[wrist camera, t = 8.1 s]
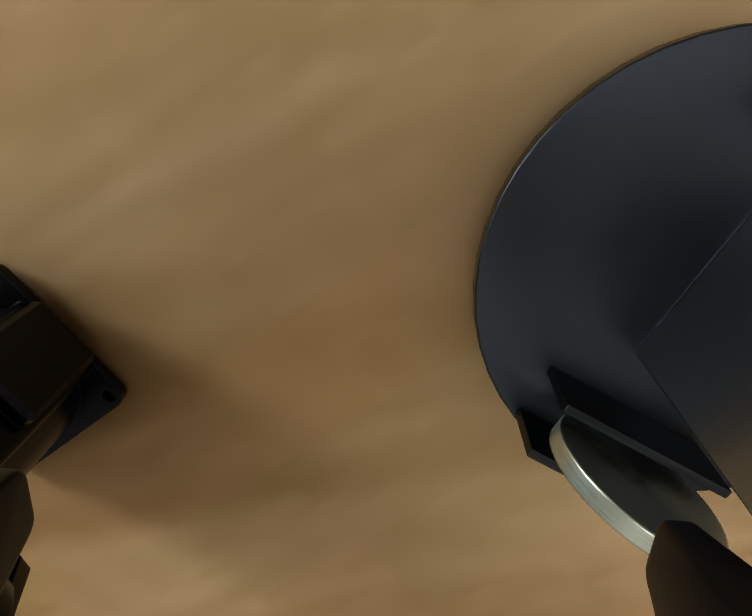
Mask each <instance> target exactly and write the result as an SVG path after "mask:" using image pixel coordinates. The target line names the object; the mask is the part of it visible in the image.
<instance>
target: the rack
mask: <svg viewBox="0 0 752 616" xmlns="http://www.w3.org/2000/svg"><path fill="white" fill-rule="evenodd" d="M473 308H474V319H475V325H476V331H477V337H478V343H479V347H480V350H481V353H482V356H483V359H484V362H485V365H486V369H487V372H488V374H489V376H490V378H491V380H492V382H493V384H494V386H495V388H496V390H497V392H498V394H499V396H500V397H501V399H502V400H503V402H504V403H505V405H506V406H507V407H508V409H509V410H510V412H511V413H512V415H513V416H514V417H515V418H516V420H517V422H518V425H519V429H520V432H521V436H522V439H523V443H524V446H525V450H526V453H527V456H528V457H530V458H532V459H534V460H536V461H538V462H540V463H542V464H543V465H545V466H547V467H549V468H551V469H553V470H555V471H557V472H559V473H561V474H563V475H564V476H565V477H566V479H567V480H568V481H569V483H570V484H571V485H572V487H573V488H574V489H575V490H576V491H577V493H578V494H579V495H580V496H581V497H582V499H583V500H584V501H585V502H586V503H587V504H588V505H589V506H590V507H591V508H592V509H593V510H594V511H595V512H596V513H597V514H598V515H599V516H600V517H601V518H602V519H603V520H604V521H605V522H606V523H607V524H609V525H610V526H611V527H612V528H613V529H614V530H615V531H617V532H618V533H619V534H620V535H622V536H623V537H624V538H625V539H627V540H628V541H629V542H631V543H632V544H634V545H635V546H636V547H638V548H639V549H641V550H642V551H644V552H645V553H647V554H648V555H649V554H650V550H651V547H652V544H653V540H654V537H655V534H656V530H657V527H658V525H659V524H660V522H662V521H664V520H679V521H689V522H693V523H695V524H696V525H698V526H699V527H700V528H702V529H703V530H704V531H706V532H707V533H708V534H709V535H711V536H712V537H713V538H715V539H716V540H717V541H719V542H720V543H721V544H723V545H724V546H725V547H726V548H728V549H729V546H728V540H727V537H726V534H725V532H724V530H723V528H722V526H721V524H720V523H719V521H718V519H717V518H716V516H715V515H714V513H713V512H712V510H711V509H710V508H709V506H708V505H707V504H706V502H705V501H704V500H703V499H702V498H701V496H700V495H699V494H698V493H697V492H696V491H707V490H710V491H712V492H714V493H716V494H718V495H720V496H722V497H724V498H727V497H728V496H729V495H730V494H731V493H732V492H731V490H730V489H729V488H731V487H732V489H733V490H734V491H735V493H736V494H737V496H738V497H739V498H740V500H741V501H742V502H743V504H744V505H745V507H746V508H747V509H748V511H749V512H750V514H751V515H752V23H746V24H734V25H729V26H725V27H720V28H716V29H711V30H707V31H702V32H698V33H694V34H691V35H688V36H685V37H683V38H680V39H677V40H674V41H671V42H669V43H666V44H663V45H660V46H657V47H655V48H653V49H651V50H649V51H647V52H645V53H643V54H641V55H639V56H637V57H635V58H633V59H631V60H629V61H627V62H625V63H623V64H622V65H620V66H619V67H617V68H615V69H614V70H612V71H611V72H609V73H608V74H606V75H605V76H603V77H602V78H600V79H599V80H597V81H596V82H594V83H593V84H591V85H590V86H588V87H587V88H586V89H585V90H584V91H582V92H581V93H580V94H579V95H578V96H576V97H575V98H574V99H573V100H572V101H571V102H569V103H568V104H567V105H566V106H565V107H563V108H562V109H561V110H560V111H559V112H558V113H557V114H556V115H555V116H554V117H553V118H552V119H551V121H550V122H549V123H548V124H547V125H546V126H545V127H544V128H543V129H542V130H541V131H540V132H539V133H538V134H537V135H536V136H535V138H534V139H533V140H532V142H531V143H530V144H529V146H528V147H527V148H526V150H525V151H524V153H523V154H522V155H521V157H520V158H519V159H518V161H517V162H516V163H515V165H514V166H513V168H512V170H511V171H510V173H509V175H508V177H507V179H506V180H505V182H504V184H503V186H502V187H501V189H500V191H499V193H498V195H497V196H496V199H495V201H494V204H493V206H492V209H491V211H490V214H489V216H488V219H487V221H486V224H485V226H484V230H483V234H482V237H481V241H480V245H479V249H478V253H477V257H476V265H475V273H474V282H473Z"/></svg>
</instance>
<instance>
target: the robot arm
mask: <svg viewBox="0 0 752 616" xmlns="http://www.w3.org/2000/svg"><path fill="white" fill-rule="evenodd" d="M107 390H111V391H113V392H114V393H115V395H116V396H112V395H110V394H109V393H108V392H107ZM126 393H127V391H126V387H125V386H124V384H123V383H122V382H121V381H120V380H119V379H118V378H117V377H116V376H115V375H114V374H113V373H112V372H111V371H110V370H109V369H108V368H107V367H106V366H105V365H104V364H103V363H102V362H101V361H100V360H99V359H98V358H97V357H96V356H95V355H94V354H93V353H92V352H91V351H90V350H89V349H88V348H87V347H86V346H85V345H84V344H83V343H82V342H81V341H80V340H79V339H78V338H77V337H76V336H75V335H74V334H73V333H72V332H71V331H70V330H69V329H68V328H67V327H66V326H65V325H64V324H63V323H62V322H61V321H60V320H59V319H58V318H57V317H56V316H55V315H54V314H53V313H52V312H51V311H50V310H49V309H48V308H47V307H46V306H45V305H44V304H43V303H42V302H41V301H40V300H39V299H38V298H37V297H36V296H35V295H34V294H33V293H32V292H31V291H30V290H29V289H28V288H27V287H26V286H25V285H24V284H23V283H22V282H21V281H20V280H19V279H18V278H17V277H16V276H15V275H14V274H13V273H12V272H11V271H10V270H9V269H8V268H7V267H5V266H4V265H1V264H0V616H14V615H15V612H16V609H17V606H18V603H19V600H20V598H21V595H22V592H23V589H24V586H25V583H26V581H27V578H28V575H29V572H30V567H29V566H28V565H27V563H26V562H25V561H24V559H23V558H22V557H21V556H20V553H21V551H22V549H23V547H24V545H25V543H26V541H27V539H28V537H29V535H30V533H31V530H32V527H33V522H34V513H33V508H32V503H31V498H30V493H29V488H28V482H27V478H26V475H27V473H28V472H29V471H30V470H31V469H32V468H33V467H34V465H36V464H37V463H38V462H40V461H41V460H43V459H44V458H45V457H47V456H48V455H50V454H51V453H52V452H54V451H55V450H57V449H58V448H59V447H61V446H62V445H64V444H65V443H66V442H68V441H69V440H71V439H72V438H73V437H75V436H76V435H78V434H79V433H80V432H82V431H83V430H85V429H86V428H87V427H89V426H90V425H92V424H93V423H94V422H96V421H97V420H99V419H100V418H101V417H103V416H104V415H106V414H107V413H108V412H110V411H111V410H113V409H114V408H115V407H117V406H118V405H119V404H120V403H121V402H122V401H123V399H124V398H125V397H126ZM646 579H647V584H648V588H649V592H650V596H651V600H652V604H653V608H654V612H655V616H752V567H751V566H750V565H749V564H747V563H746V562H745V561H743V560H742V559H741V558H740V557H738V556H737V555H736V554H734V553H733V552H732V551H730V550H729V549H728V548H726V547H725V546H724V545H723V544H721V543H720V542H719V541H717V540H716V539H715V538H713V537H712V536H711V535H709V534H708V533H707V532H706V531H704V530H703V529H702V528H700V527H699V526H698V525H696V524H695V523H693V522H689V521H679V520H664V521H662V522H660V524H659V525H658V527H657V530H656V534H655V537H654V540H653V544H652V547H651V550H650V554H649V557H648V560H647V564H646Z"/></svg>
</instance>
